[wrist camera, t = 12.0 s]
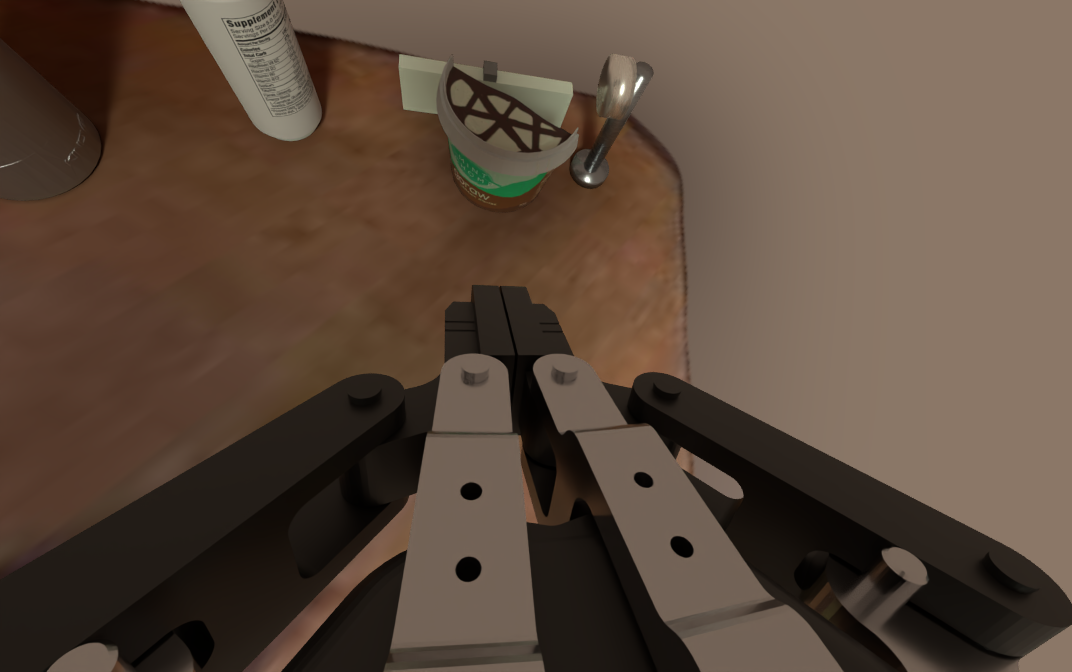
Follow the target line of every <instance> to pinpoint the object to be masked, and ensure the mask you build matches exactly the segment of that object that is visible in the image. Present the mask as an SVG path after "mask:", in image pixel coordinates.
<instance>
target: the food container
mask: <svg viewBox="0 0 1072 672" xmlns="http://www.w3.org/2000/svg"><path fill="white" fill-rule="evenodd" d="M436 104H437V112H438V116H439V120H440V123H441V125H442V127H443V130H444V131H445V133H446V135H447V136H448V142H449V151H450V160H451V168H452V173H453V178H454V182H455V183H456V185H457V187H458V189H459V190H460V192H461V194H462V195H463V196H465V197H466V198H467V199H468V200H469V201H470V202H471V203H473V204H474V205H476V206H478V207H480V208H482V209H485V210H488V211H492V212H512V211H516V210H519V209H521V208H523V207H525V206H527V205H528V204H530V203H531V202H532V201H533V200H534V199H535V198H536V197H537V195H538V194H539V192H540V191H541V189H542V187H543V186H544V184H545V183H546V181H547V179H548V178H549V176H550V175H551V173H552V171H553V170H554V169H555V168H557V167H558V166H560V165H561V164H562V163H564V162H565V161H566V160H567V159H568V158H569V157H570V156H571V155H572V154H573V152H574V151H575V149H576V148H577V143H578V137H579V135H578V134H576V133H577V131H578V128H577V129H576V130H575V132H574V133H573V134H572V135H571V134H570V133H568V132H567V131H565V130H563V129H561V128H559V127H557V126H555V125H553V124H552V123H550V122H548V121H547V120H545V119H543V118H542V117H540V116H539V115H538V114H536V113H535V112H534V111H532V110H531V109H530V108H528V107H527V106H526V105H524V104H523V103H521V102H520V101H518V100H517V99H516V98H514V97H512V96H510V95H508V94H506V93H503V92H501V91H499V90H496V89H494V88H492V87H489V86H487V85H485V84H483V83H481V82H480V81H478V80H476V79H474V78H473V77H471V76H469V75H467V74H466V73H464V72H462V71H461V70H459V69H458V68H456V67H454V62H453V54H452V55H451V57H450V58H449V60H448V62H447V63H446V65H445V66H444V69H443V72H442V75H441V78H440V82H439V86H438V90H437V97H436Z"/></svg>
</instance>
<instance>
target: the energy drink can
mask: <svg viewBox="0 0 1072 672" xmlns="http://www.w3.org/2000/svg"><path fill="white" fill-rule="evenodd" d="M180 2H181V4H182V5H183V7H184V9H185V10H186V12H187V14H188V15H189V17H190V19H191V20H192V22H193V24H194V25H195V27H196V29H197V30H198V32H199V34H200V35H201V37H202V39H203V40H204V42H205V44H206V45H207V47H208V49H209V50H210V52H211V54H212V55H213V57H214V59H215V60H216V62H217V64H218V65H219V67H220V69H221V70H222V72H223V74H224V75H225V77H226V79H227V80H228V82H229V84H230V86H231V87H232V89H233V91H234V92H235V94H236V96H237V97H238V99H239V101H240V102H241V104H242V106H243V107H244V109H245V111H246V112H247V114H248V116H249V117H250V119H251V121H252V122H253V124H254V125H255V126H256V127H257V128H258V129H259V130H261V131H262V132H263V133H265V134H267V135H269V136H272V137H275V138H277V139H281V140H286V141H296V140H301V139H303V138H306V137H307V136H309V135H311V134H312V133H313V132H314V130H315V129H316V127H317V125H318V124H319V122H320V120H321V116H322V108H321V104H320V102H319V99H318V96H317V93H316V91H315V88H314V85H313V82H312V80H311V77H310V74H309V71H308V68H307V66H306V63H305V60H304V57H303V55H302V52H301V49H300V46H299V44H298V41H297V38H296V35H295V32H294V30H293V27H292V24H291V21H290V19H289V16H288V13H287V11H286V8H285V5H284V2H283V0H180Z"/></svg>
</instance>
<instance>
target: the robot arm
mask: <svg viewBox="0 0 1072 672" xmlns="http://www.w3.org/2000/svg"><path fill="white" fill-rule="evenodd" d="M100 153H101V141H100V136H99V133H98V132H97V130H96V128H95V126H94V125H93V123H92V122H91V121H90V120H89V119H88V118H87V117H86V116H85V115H84V114H83V113H82V112H81V111H80V110H78V109H77V108H76V107H75V106H74V105H73V104H72V103H71V102H70V101H69V100H67V99H66V98H65V97H64V96H63V95H62V94H61V93H60V92H59V91H58V90H56V89H55V88H54V87H53V86H52V85H51V84H50V83H49V82H48V81H47V80H46V79H45V78H44V77H42V76H41V75H40V74H39V73H38V72H37V71H36V70H35V69H34V68H33V67H31V66H30V65H29V64H28V63H27V62H26V61H25V60H24V59H23V58H22V57H20V56H19V55H18V54H17V53H16V52H15V51H14V50H13V49H12V48H10V47H9V46H8V45H7V44H6V43H5V42H4V41H3V40H2V39H1V38H0V198H4V199H9V200H20V201H26V200H39V199H44V198H48V197H53V196H56V195H58V194H61V193H64V192H66V191H68V190H70V189H72V188H73V187H75V186H77V185H78V184H80V183H81V182H82V181H83V180H84V179H86V178H87V177H88V176H89V175H90V173H91V172H92V171H93V169H94V168H95V167H96V165H97V162H98V160H99V157H100ZM518 435H521V438H522V450H521V458H520V449H519V439H518ZM681 447H683V448H684V449H686V450H688V451H689V452H691V453H693V454H694V455H696V456H698V457H699V458H701V459H703V460H704V461H706V462H708V463H709V464H711V465H712V466H714V467H716V468H718V469H719V470H721V471H722V472H724V473H726V474H727V475H729V476H731V477H732V478H734V479H735V480H736V481H737V482H738V483H739V485H740V486H741V488H742V490H743V494H744V497H743V498H741V499H732V498H729V497H726V496H725V495H723V494H721V493H720V492H718V491H717V490H715V489H713V488H712V487H710V486H709V485H707V484H706V483H704V482H702V481H701V480H699V479H698V478H696V477H694V476H693V475H691V474H690V473H688V472H687V471H685V470H683V469H682V468H681V467H680V466H679V464H678V463H677V462H676V458H677V455H678V453H679V451H680V448H681ZM521 465H522V469H523V472H524V476H525V479H526V483H527V486H528V490H529V493H530V497H531V500H532V504H533V507H534V511H535V515H536V518H537V522H538V524H535V523H529V522H526V514H525V503H524V492H523V481H522V470H521ZM415 493H417V496H416V502H415V508H414V514H413V520H412V526H411V532H410V538H409V544H408V550H406V551H404V552H402V553H400V554H398V555H396V556H395V557H393V558H391V559H390V560H388V561H386V562H385V563H383V564H382V565H381V566H379V567H378V568H377V569H375V570H374V571H373V572H372V573H370V574H369V575H368V576H367V577H366V578H365V579H364V580H362V581H361V582H360V583H359V584H358V585H357V586H356V587H355V588H354V589H353V590H352V591H351V592H350V593H349V594H348V595H347V597H346V598H345V599H344V600H343V601H342V602H341V603H340V605H339V606H338V607H337V608H336V609H335V610H334V611H333V613H332V614H331V615H330V616H329V617H328V618H327V620H326V621H325V622H324V623H323V624H322V625H321V626H320V628H319V629H318V630H317V631H316V632H315V633H314V634H313V636H312V637H311V638H310V639H309V640H308V641H307V643H306V644H305V645H304V646H303V647H302V648H301V649H300V651H299V652H298V653H297V654H296V655H295V656H294V658H293V659H292V660H291V661H290V662H289V663H288V664H287V666H286V667H285V668H284V669H283V670H282V671H281V672H1019V666H1018V662H1019V660H1020V659H1021V658H1022V657H1024V656H1025V655H1027V654H1028V653H1030V652H1031V651H1032V650H1034V649H1036V648H1037V647H1039V646H1040V645H1042V644H1043V643H1045V642H1046V641H1048V640H1049V639H1051V638H1052V637H1054V636H1055V635H1057V634H1058V633H1060V632H1061V631H1063V630H1064V629H1066V628H1067V627H1069V626H1070V625H1072V604H1071V602H1070V600H1069V599H1068V597H1067V596H1066V594H1065V593H1064V592H1063V590H1062V589H1061V588H1060V587H1059V586H1058V585H1057V584H1056V583H1055V582H1054V581H1053V580H1052V579H1051V578H1050V577H1049V576H1048V575H1047V574H1046V573H1045V572H1043V571H1042V570H1041V569H1040V568H1039V567H1037V566H1036V565H1035V564H1034V563H1032V562H1031V561H1030V560H1028V559H1026V558H1025V557H1024V556H1022V555H1021V554H1019V553H1017V552H1016V551H1014V550H1013V549H1011V548H1009V547H1007V546H1005V545H1004V544H1002V543H1000V542H998V541H995V540H994V539H992V538H990V537H988V536H986V535H984V534H982V533H980V532H978V531H976V530H974V529H972V528H970V527H968V526H966V525H965V524H963V523H961V522H959V521H956V520H955V519H953V518H951V517H949V516H947V515H945V514H943V513H941V512H939V511H937V510H935V509H933V508H931V507H929V506H927V505H925V504H923V503H921V502H919V501H917V500H916V499H914V498H912V497H910V496H908V495H906V494H904V493H902V492H900V491H898V490H896V489H894V488H892V487H890V486H888V485H886V484H884V483H882V482H880V481H878V480H876V479H874V478H872V477H870V476H869V475H867V474H865V473H863V472H860V471H859V470H857V469H855V468H853V467H851V466H849V465H847V464H845V463H843V462H841V461H839V460H837V459H835V458H833V457H831V456H829V455H827V454H825V453H823V452H821V451H819V450H818V449H815V448H814V447H812V446H810V445H807V444H806V443H804V442H802V441H800V440H798V439H796V438H794V437H792V436H790V435H788V434H786V433H784V432H782V431H780V430H778V429H776V428H774V427H772V426H770V425H769V424H766V423H765V422H762V421H761V420H759V419H757V418H755V417H753V416H751V415H749V414H747V413H745V412H743V411H741V410H739V409H737V408H735V407H733V406H731V405H729V404H727V403H725V402H723V401H722V400H719V399H718V398H716V397H714V396H712V395H710V394H708V393H706V392H704V391H702V390H700V389H698V388H696V387H694V386H692V385H690V384H688V383H686V382H684V381H682V380H680V379H678V378H676V377H674V376H671V375H668V374H664V373H657V372H649V373H644V374H641V375H639V376H637V377H636V378H635V380H634V383H633V386H632V388H628V387H623V386H618V385H613V384H608V383H604V382H601V381H600V379H599V377H598V376H597V374H596V372H595V371H594V369H593V368H592V367H591V366H590V365H589V364H588V363H587V362H585V361H583V360H582V359H580V358H577V357H574V355H573V353H572V351H571V348H570V346H569V344H568V342H567V340H566V337H565V335H564V333H563V331H562V328H561V326H560V325H559V322H558V320H557V317H556V315H555V313H554V312H553V311H552V310H550V309H549V308H548V307H547V306H545V305H544V304H532V302H531V299H530V296H529V294H528V291H527V288H526V287H515V286H500V287H499V286H485V285H472V292H471V302H452V304H451V305H450V306H449V307H448V308H447V309H446V310H445V364H444V365H443V367H442V370H441V374H440V375H439V376H438V377H437V378H435V379H434V380H432V381H430V382H428V383H426V384H424V385H421V386H417V387H413V388H409V389H405V390H404V388H403V386H402V385H401V383H400V382H399V381H397V380H396V379H394V378H392V377H390V376H387V375H382V374H361V375H355V376H352V377H349V378H346V379H344V380H342V381H340V382H338V383H336V384H334V385H333V386H331V387H329V388H328V389H326V390H324V391H322V392H321V393H319V394H317V395H316V396H314V397H312V398H310V399H309V400H307V401H305V402H304V403H302V404H300V405H298V406H297V407H295V408H293V409H292V410H290V411H288V412H286V413H285V414H283V415H281V416H280V417H278V418H276V419H274V420H273V421H271V422H269V423H268V424H266V425H264V426H262V427H261V428H259V429H257V430H256V431H254V432H252V433H251V434H249V435H247V436H245V437H244V438H242V439H240V440H239V441H237V442H235V443H233V444H232V445H230V446H228V447H227V448H225V449H223V450H221V451H220V452H218V453H216V454H215V455H213V456H211V457H209V458H208V459H206V460H204V461H203V462H201V463H199V464H197V465H196V466H194V467H192V468H191V469H189V470H187V471H186V472H184V473H182V474H180V475H179V476H177V477H175V478H174V479H172V480H170V481H168V482H167V483H165V484H163V485H162V486H160V487H158V488H156V489H155V490H153V491H151V492H150V493H148V494H146V495H144V496H143V497H141V498H139V499H138V500H136V501H134V502H132V503H131V504H129V505H127V506H126V507H124V508H122V509H121V510H119V511H117V512H115V513H114V514H112V515H110V516H109V517H107V518H105V519H103V520H102V521H100V522H98V523H97V524H95V525H93V526H91V527H90V528H88V529H86V530H85V531H83V532H81V533H79V534H78V535H76V536H74V537H73V538H71V539H69V540H67V541H66V542H64V543H62V544H61V545H59V546H57V547H56V548H54V549H52V550H50V551H49V552H47V553H45V554H44V555H42V556H40V557H38V558H37V559H35V560H33V561H32V562H30V563H28V564H26V565H25V566H23V567H21V568H20V569H18V570H16V571H14V572H13V573H11V574H9V575H8V576H6V577H4V578H2V579H1V580H0V672H242V671H243V670H244V669H245V668H246V667H247V666H248V665H249V664H250V663H251V662H252V661H253V660H254V659H255V658H256V657H257V656H258V655H259V654H260V653H261V652H262V651H263V650H264V649H265V648H266V647H267V646H268V645H269V644H270V643H271V642H272V641H273V640H274V639H275V638H276V637H277V636H278V635H279V634H280V633H281V632H282V631H283V630H284V629H285V628H286V627H287V626H288V625H289V624H290V623H291V621H292V620H293V619H294V618H295V617H296V616H297V615H298V614H299V613H300V612H301V611H302V610H303V609H304V608H305V607H306V606H307V605H308V604H309V603H310V602H311V601H312V600H313V599H314V598H315V597H316V596H317V595H318V594H319V593H320V592H321V591H322V590H323V589H324V588H325V587H326V586H327V585H328V584H329V583H330V582H331V581H332V580H333V579H334V578H335V577H336V576H337V575H338V574H339V573H340V572H341V571H342V570H343V569H344V568H345V567H346V566H347V565H348V564H349V563H350V562H351V561H352V560H353V559H354V558H355V556H356V555H357V554H358V553H359V552H360V551H361V550H362V549H363V548H364V547H365V546H366V545H367V544H368V543H369V542H370V541H371V540H372V539H373V538H374V537H375V536H376V535H377V534H378V533H379V532H380V531H381V530H382V529H383V528H384V527H385V526H386V525H387V524H388V523H389V522H390V521H391V520H392V519H393V518H394V517H395V516H396V515H397V514H398V513H399V512H400V511H401V510H402V508H403V507H404V506H405V504H406V503H407V501H408V498H409V495H412V494H415Z"/></svg>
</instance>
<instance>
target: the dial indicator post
mask: <svg viewBox="0 0 1072 672" xmlns="http://www.w3.org/2000/svg"><path fill="white" fill-rule="evenodd" d="M652 76H653V69H652V67H651V66H650V65H649V64H647V63H645V62H638V63H636V61H635V59H634V58H633V57H627V56H622V55H617V54H611V55H610V56H609V57H608V58H607V60H606V62H605V64H604V66H603V69H602V72H601V75H600V79H599V84H598V89H597V99H596V107H597V113H598V115H599V116H600V117H604V118H607V120H606V121H605V123H604V125H603V127H602V129H601V131H600V133H599V135H598V137H597V139H596V141H595V143H594V144H593V146H592V148H591V149H584V150H581V151H579V152H577V153H576V154H575V156H574V158H573V160H572V162H571V164H570V174H571V176H572V178H573V180H574V181H575V182H576V183H577V184H578V185H580V186H582V187H584V188H588V189H593V188H597V187H599V186H600V185H602V183H603V182H604V181H605V179H606V177H607V176H608V173H609V166H608V163H607V161H606V159H605V156H606V155H607V153H608V151H609V150H610V148H611V146H612V144H613V143H614V141H615V139H616V138H617V136H618V134H619V133H620V131H621V129H622V127H623V126H624V124H625V122H626V121H627V119H628V117H629V115H630V114H631V112H632V110H633V109H634V107H635V105H636V103H637V102H638V100H639V98H640V96H641V95H642V93H643V92H644V90H645V88H646V86H647V85H648V83H649V81H650V80H651V78H652Z"/></svg>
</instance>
